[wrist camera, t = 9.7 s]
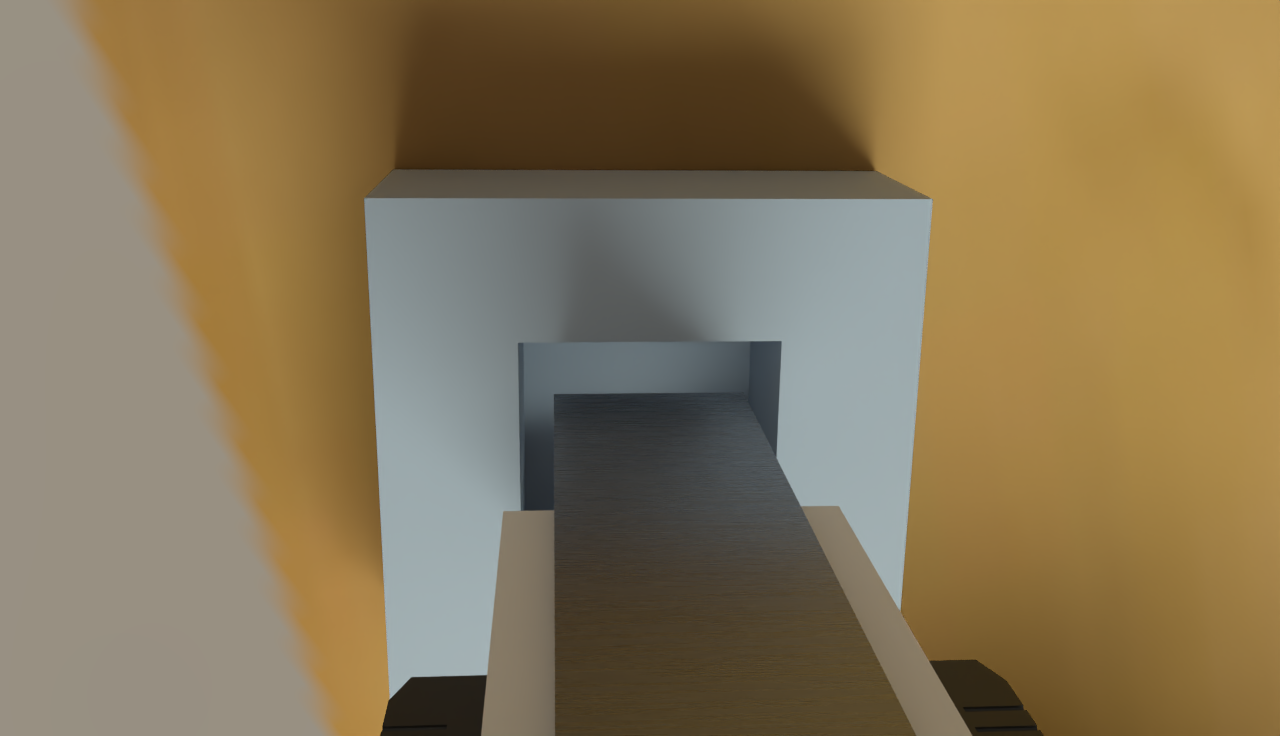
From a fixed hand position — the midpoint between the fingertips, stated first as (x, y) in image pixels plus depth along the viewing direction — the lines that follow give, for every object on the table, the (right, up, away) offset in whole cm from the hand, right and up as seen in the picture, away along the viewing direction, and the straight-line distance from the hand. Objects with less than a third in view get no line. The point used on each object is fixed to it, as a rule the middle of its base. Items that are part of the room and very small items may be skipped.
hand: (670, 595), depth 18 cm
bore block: (-1, +3, +9) cm, 9 cm away
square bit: (0, +1, +4) cm, 5 cm away
